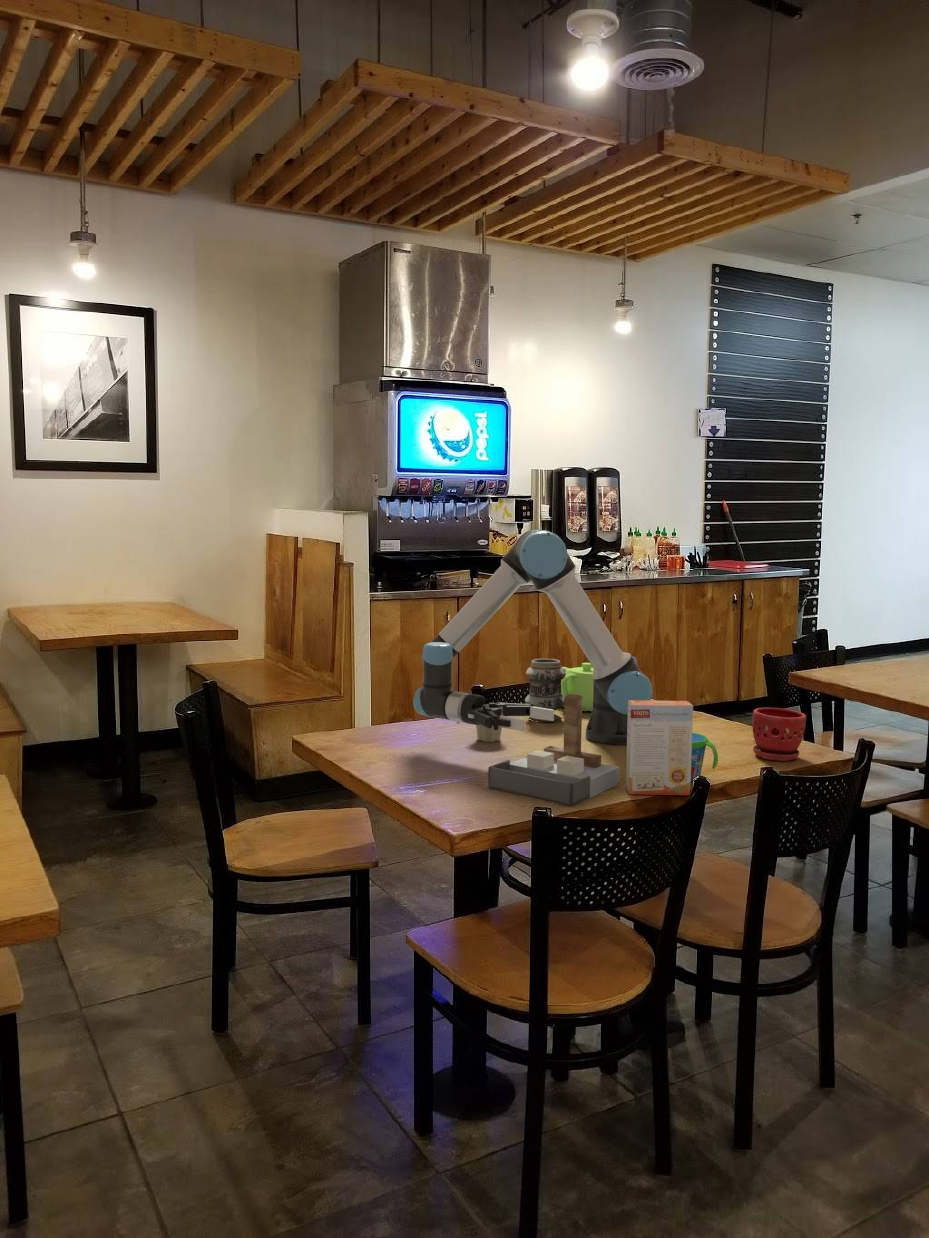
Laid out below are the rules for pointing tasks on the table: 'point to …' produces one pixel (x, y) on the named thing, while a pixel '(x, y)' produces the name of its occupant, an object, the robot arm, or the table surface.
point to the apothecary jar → (546, 686)
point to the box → (537, 785)
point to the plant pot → (778, 733)
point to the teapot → (579, 684)
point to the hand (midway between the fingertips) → (538, 720)
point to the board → (599, 776)
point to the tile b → (570, 765)
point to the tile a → (540, 759)
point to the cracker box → (659, 747)
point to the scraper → (574, 734)
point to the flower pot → (488, 733)
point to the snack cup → (700, 754)
